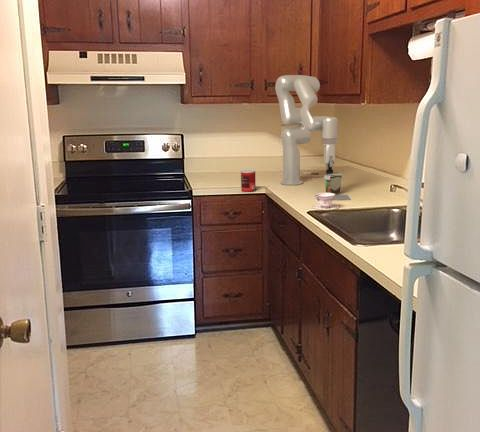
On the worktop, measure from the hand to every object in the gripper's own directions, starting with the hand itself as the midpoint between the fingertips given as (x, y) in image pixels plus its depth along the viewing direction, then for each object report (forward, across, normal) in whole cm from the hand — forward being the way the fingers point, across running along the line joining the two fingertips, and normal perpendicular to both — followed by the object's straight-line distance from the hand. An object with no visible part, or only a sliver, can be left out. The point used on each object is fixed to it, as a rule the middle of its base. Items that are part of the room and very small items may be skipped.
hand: (329, 177), depth 278 cm
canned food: (+8, -7, -42) cm, 43 cm away
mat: (+8, +15, 0) cm, 17 cm away
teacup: (+8, +37, -6) cm, 38 cm away
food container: (+8, +6, 0) cm, 10 cm away
